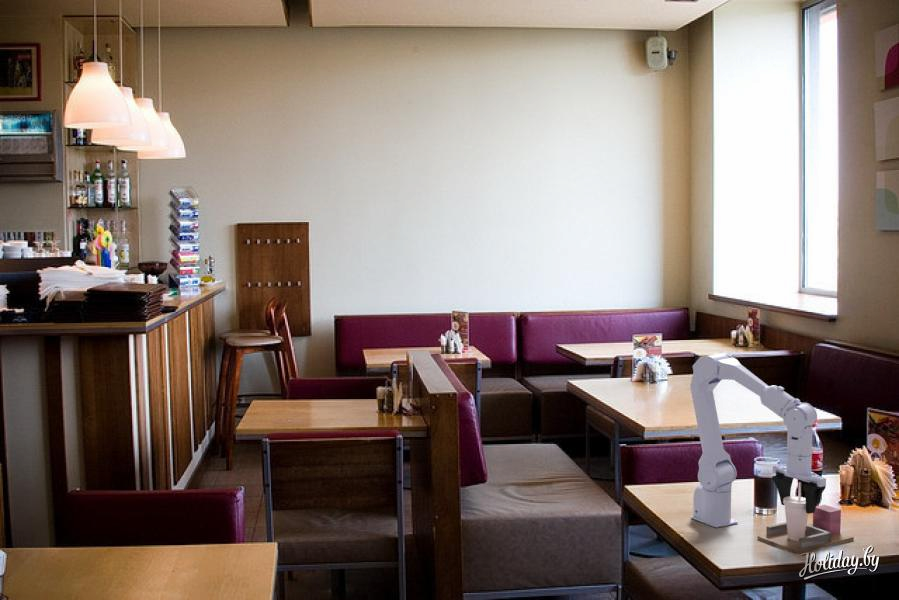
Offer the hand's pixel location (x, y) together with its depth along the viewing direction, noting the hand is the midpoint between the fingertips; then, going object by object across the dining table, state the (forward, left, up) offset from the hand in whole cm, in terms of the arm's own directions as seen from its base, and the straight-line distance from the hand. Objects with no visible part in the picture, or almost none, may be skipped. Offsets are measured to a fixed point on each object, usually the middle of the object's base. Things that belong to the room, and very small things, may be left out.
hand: (797, 508), depth 225 cm
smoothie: (0, 0, -8) cm, 8 cm away
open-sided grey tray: (0, +3, -8) cm, 9 cm away
